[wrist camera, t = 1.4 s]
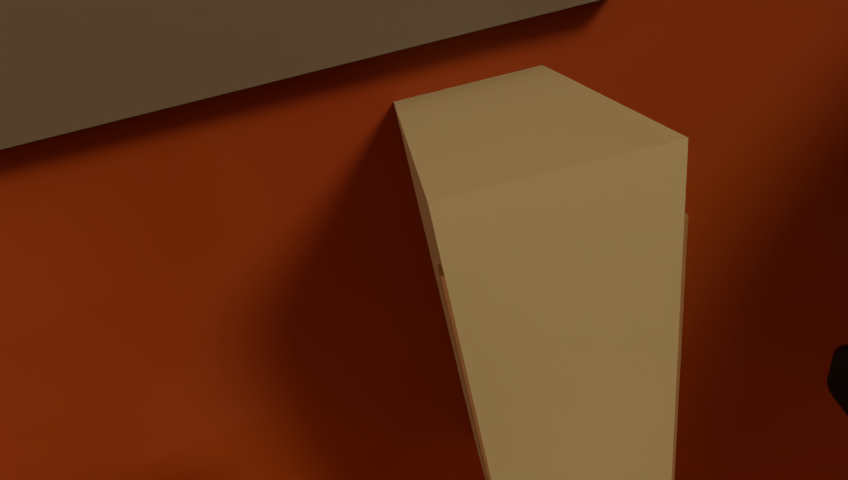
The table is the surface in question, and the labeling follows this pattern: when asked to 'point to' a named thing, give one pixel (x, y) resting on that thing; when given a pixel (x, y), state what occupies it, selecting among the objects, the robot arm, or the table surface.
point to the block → (556, 271)
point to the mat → (200, 49)
